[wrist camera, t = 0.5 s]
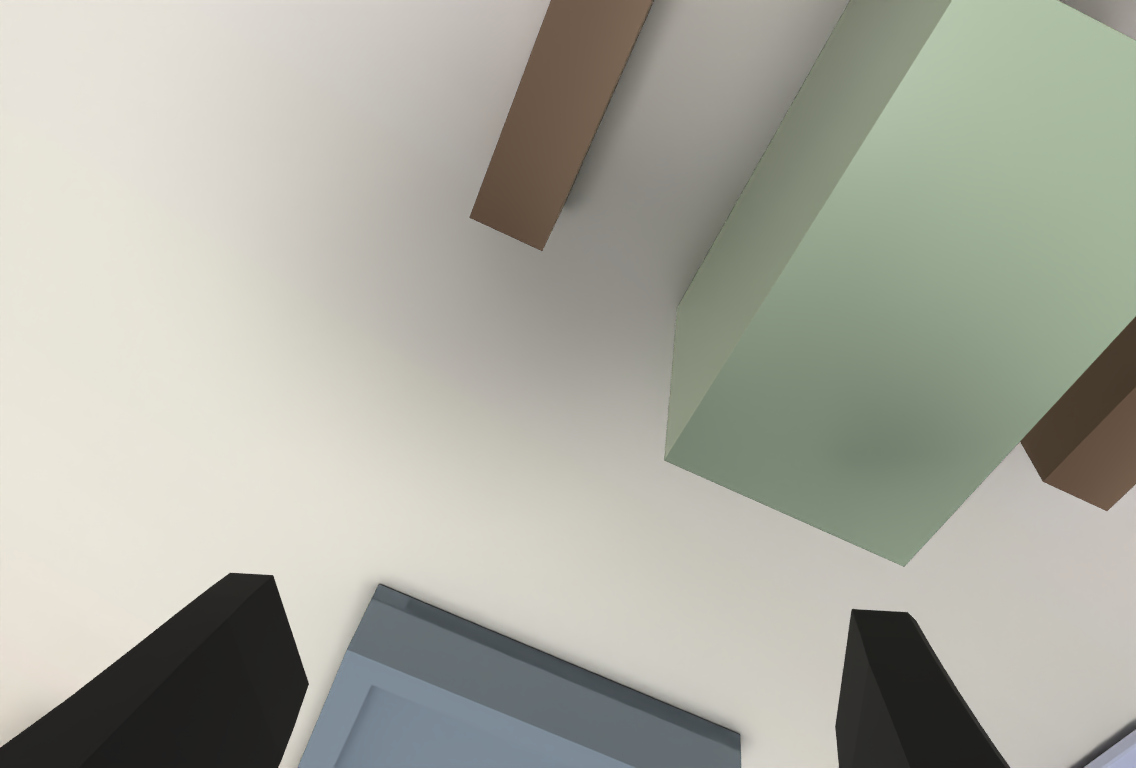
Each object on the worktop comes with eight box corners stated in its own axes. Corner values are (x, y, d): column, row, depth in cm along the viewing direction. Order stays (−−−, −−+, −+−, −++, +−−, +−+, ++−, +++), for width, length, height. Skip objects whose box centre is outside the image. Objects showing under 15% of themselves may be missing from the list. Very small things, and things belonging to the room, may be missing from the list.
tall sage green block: (1103, 49, 15) (1307, 129, 10) (852, 387, 19) (904, 567, 14) (884, -63, 15) (977, -41, 9) (677, 306, 19) (664, 460, 14)
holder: (1456, 31, 14) (1591, 55, 12) (1062, 441, 19) (1107, 511, 17) (710, -371, 13) (710, -424, 11) (498, 179, 18) (469, 217, 16)
